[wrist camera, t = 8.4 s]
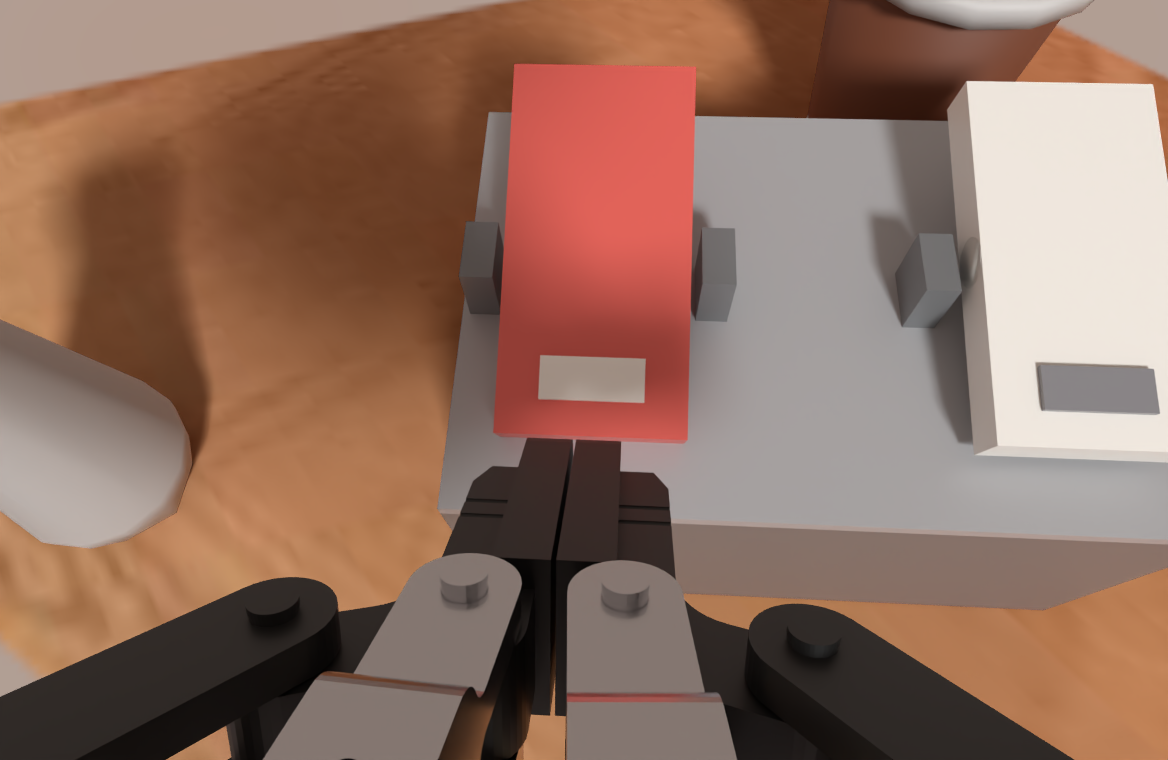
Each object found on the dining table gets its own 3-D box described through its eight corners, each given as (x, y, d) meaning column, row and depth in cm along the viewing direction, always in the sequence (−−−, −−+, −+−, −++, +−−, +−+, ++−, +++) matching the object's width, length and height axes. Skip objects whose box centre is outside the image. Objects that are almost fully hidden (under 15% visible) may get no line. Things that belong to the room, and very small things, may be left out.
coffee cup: (1026, 111, 35) (1214, -181, 24) (936, 261, 32) (1104, 3, 21) (834, 27, 37) (926, -273, 27) (733, 159, 34) (791, -119, 23)
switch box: (985, 289, 31) (1156, 76, 22) (1043, 610, 26) (1301, 521, 17) (519, 276, 32) (480, 64, 22) (488, 584, 27) (421, 484, 17)
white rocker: (1123, 112, 21) (1156, 80, 20) (1172, 462, 19) (1213, 452, 17) (946, 109, 21) (969, 77, 20) (973, 455, 19) (1001, 444, 17)
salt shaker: (65, 415, 30) (-283, 194, 18) (220, 398, 30) (-25, 167, 19) (38, 573, 28) (-383, 435, 16) (208, 554, 28) (-86, 402, 16)
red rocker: (691, 91, 21) (696, 63, 20) (683, 443, 20) (688, 440, 18) (520, 88, 21) (513, 60, 20) (500, 436, 20) (492, 432, 18)
